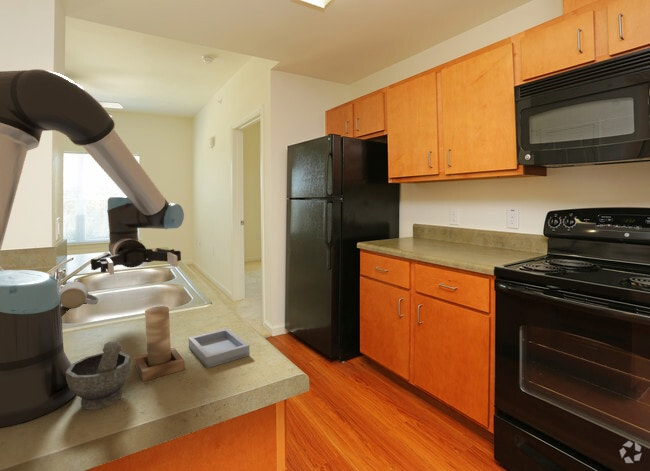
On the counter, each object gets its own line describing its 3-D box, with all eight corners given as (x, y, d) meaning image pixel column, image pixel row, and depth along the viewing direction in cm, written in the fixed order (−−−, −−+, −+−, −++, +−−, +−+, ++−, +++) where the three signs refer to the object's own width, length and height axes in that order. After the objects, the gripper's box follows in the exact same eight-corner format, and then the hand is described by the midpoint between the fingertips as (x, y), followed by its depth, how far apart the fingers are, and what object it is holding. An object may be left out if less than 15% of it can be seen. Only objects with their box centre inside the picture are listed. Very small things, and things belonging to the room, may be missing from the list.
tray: (207, 368, 75) (206, 357, 75) (188, 347, 85) (188, 337, 85) (249, 355, 81) (249, 345, 81) (227, 337, 92) (227, 328, 91)
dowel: (150, 375, 72) (147, 314, 71) (146, 366, 76) (142, 308, 74) (174, 368, 75) (171, 310, 74) (168, 360, 79) (165, 304, 77)
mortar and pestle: (60, 403, 62) (54, 339, 61) (114, 380, 70) (110, 323, 69) (90, 425, 56) (85, 355, 55) (146, 397, 64) (143, 335, 63)
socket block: (143, 381, 70) (142, 371, 70) (135, 365, 76) (135, 357, 76) (184, 369, 75) (184, 360, 74) (174, 355, 81) (174, 347, 81)
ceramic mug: (59, 311, 111) (58, 288, 111) (61, 304, 118) (60, 282, 117) (98, 306, 117) (97, 284, 116) (98, 300, 124) (97, 279, 123)
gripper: (176, 260, 106) (199, 273, 90) (77, 271, 91) (82, 289, 75) (175, 236, 106) (198, 244, 89) (74, 243, 90) (79, 254, 74)
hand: (145, 264), depth 82 cm, fingers open, 13 cm apart
